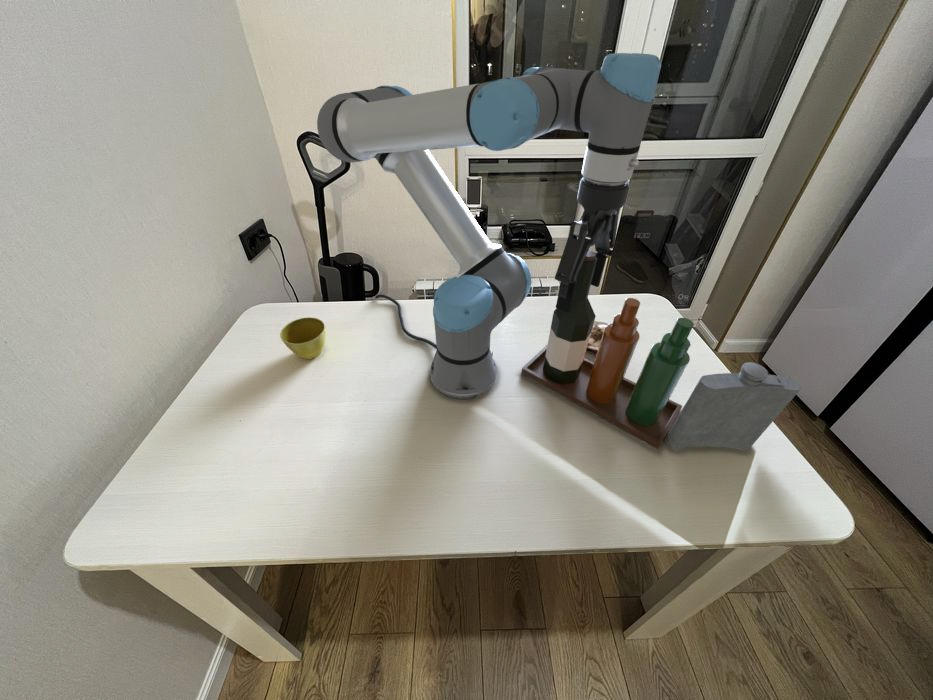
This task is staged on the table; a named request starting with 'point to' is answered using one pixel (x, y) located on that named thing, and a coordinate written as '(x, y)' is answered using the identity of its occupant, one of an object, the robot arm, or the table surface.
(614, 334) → the amber bottle
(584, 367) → the tray
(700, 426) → the hip flask
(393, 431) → the table surface
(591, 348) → the bowl of food
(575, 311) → the wine bottle
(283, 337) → the flower pot
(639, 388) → the green bottle
